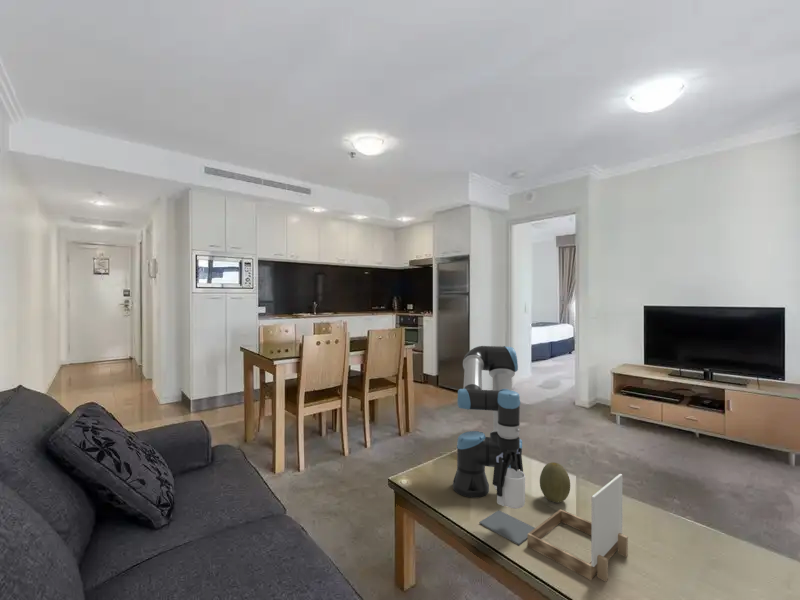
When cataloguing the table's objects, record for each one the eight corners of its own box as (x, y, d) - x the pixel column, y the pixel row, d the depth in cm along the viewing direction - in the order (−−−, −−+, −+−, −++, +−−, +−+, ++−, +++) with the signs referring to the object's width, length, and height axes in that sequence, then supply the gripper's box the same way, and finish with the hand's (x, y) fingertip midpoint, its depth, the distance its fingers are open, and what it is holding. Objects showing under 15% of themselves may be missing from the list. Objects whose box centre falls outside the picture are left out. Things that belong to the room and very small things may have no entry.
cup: (517, 511, 128) (517, 481, 128) (486, 498, 136) (486, 469, 136) (529, 502, 133) (529, 473, 133) (499, 490, 142) (499, 463, 142)
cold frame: (527, 546, 124) (527, 534, 124) (560, 520, 139) (560, 509, 139) (590, 580, 109) (590, 566, 109) (620, 546, 124) (620, 534, 124)
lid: (591, 579, 110) (591, 496, 110) (619, 547, 124) (620, 473, 124) (602, 585, 107) (603, 500, 107) (630, 552, 122) (630, 476, 122)
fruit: (555, 491, 160) (555, 455, 160) (576, 504, 150) (576, 466, 150) (533, 496, 156) (533, 459, 156) (553, 510, 146) (553, 471, 146)
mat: (479, 523, 137) (479, 522, 137) (498, 511, 145) (498, 510, 145) (519, 545, 125) (519, 543, 125) (537, 530, 133) (537, 529, 133)
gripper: (500, 446, 125) (500, 515, 125) (533, 431, 139) (533, 494, 139) (481, 439, 131) (481, 506, 131) (515, 426, 145) (515, 486, 144)
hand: (508, 500), depth 135 cm, fingers closed on cup, 8 cm apart
